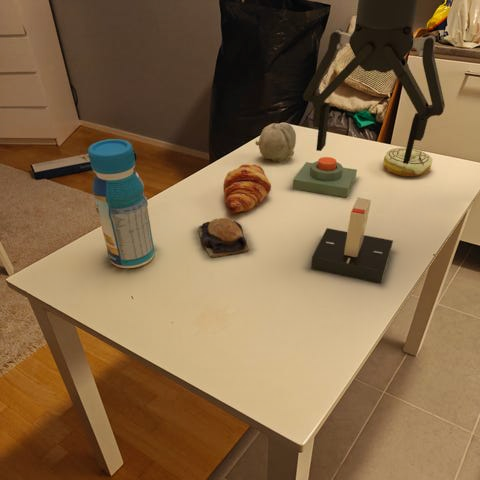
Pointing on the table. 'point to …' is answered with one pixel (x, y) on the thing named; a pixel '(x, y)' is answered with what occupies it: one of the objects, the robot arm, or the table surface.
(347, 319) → the table surface
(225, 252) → the chocolate dessert
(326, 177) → the button housing
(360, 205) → the knob
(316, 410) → the table surface
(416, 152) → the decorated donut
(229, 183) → the croissant
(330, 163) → the button
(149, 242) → the beverage bottle
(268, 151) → the grey rounded lump
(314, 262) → the dial panel
